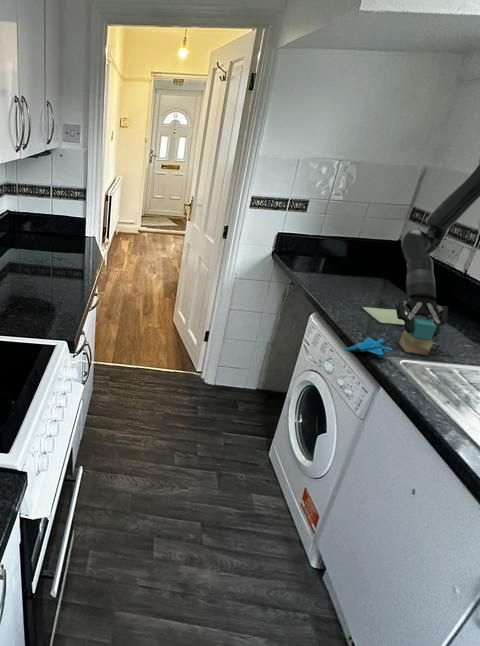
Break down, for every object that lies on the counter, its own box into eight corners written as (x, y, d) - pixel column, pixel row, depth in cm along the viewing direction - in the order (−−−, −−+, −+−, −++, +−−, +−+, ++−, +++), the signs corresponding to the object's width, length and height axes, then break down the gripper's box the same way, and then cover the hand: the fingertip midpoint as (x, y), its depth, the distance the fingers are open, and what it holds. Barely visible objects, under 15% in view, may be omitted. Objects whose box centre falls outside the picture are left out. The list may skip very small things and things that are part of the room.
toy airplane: (367, 344, 134) (371, 332, 132) (397, 359, 126) (402, 347, 124) (343, 350, 130) (346, 338, 128) (372, 366, 122) (377, 354, 120)
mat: (404, 311, 162) (404, 310, 162) (426, 327, 149) (426, 326, 149) (361, 307, 163) (362, 306, 163) (380, 323, 150) (380, 322, 150)
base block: (419, 346, 135) (425, 333, 133) (427, 355, 130) (433, 341, 128) (398, 343, 136) (404, 329, 134) (405, 352, 131) (411, 338, 129)
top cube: (424, 333, 133) (430, 319, 131) (430, 340, 128) (437, 326, 126) (406, 330, 134) (412, 316, 132) (412, 337, 129) (418, 323, 127)
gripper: (401, 278, 133) (402, 326, 127) (453, 284, 129) (456, 334, 124) (389, 287, 140) (390, 334, 134) (439, 294, 136) (441, 342, 131)
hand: (422, 334), depth 129 cm, fingers open, 6 cm apart
